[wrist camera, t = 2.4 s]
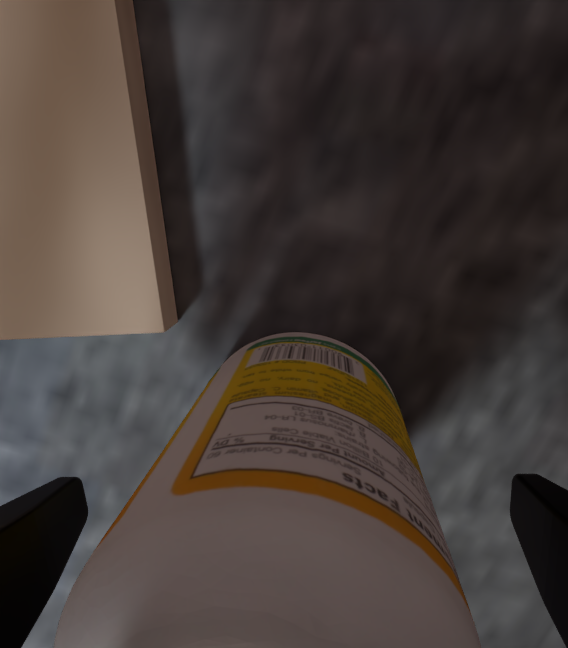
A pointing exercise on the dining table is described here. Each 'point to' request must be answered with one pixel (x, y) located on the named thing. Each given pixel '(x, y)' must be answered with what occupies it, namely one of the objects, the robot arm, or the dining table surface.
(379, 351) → the dining table surface
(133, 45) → the pin board
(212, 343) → the dining table surface
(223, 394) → the supplement bottle
